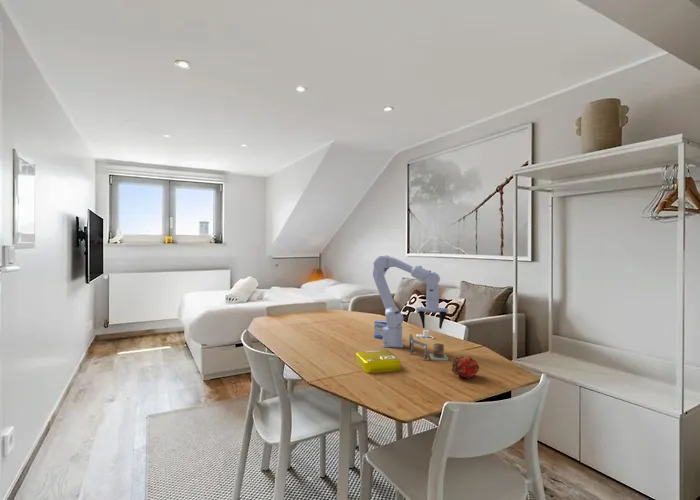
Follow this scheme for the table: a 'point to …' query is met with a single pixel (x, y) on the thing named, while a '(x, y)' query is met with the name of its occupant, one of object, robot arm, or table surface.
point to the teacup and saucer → (424, 334)
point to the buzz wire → (419, 344)
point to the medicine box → (379, 328)
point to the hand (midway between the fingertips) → (431, 327)
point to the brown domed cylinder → (438, 350)
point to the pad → (437, 358)
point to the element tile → (378, 361)
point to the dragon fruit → (465, 367)
